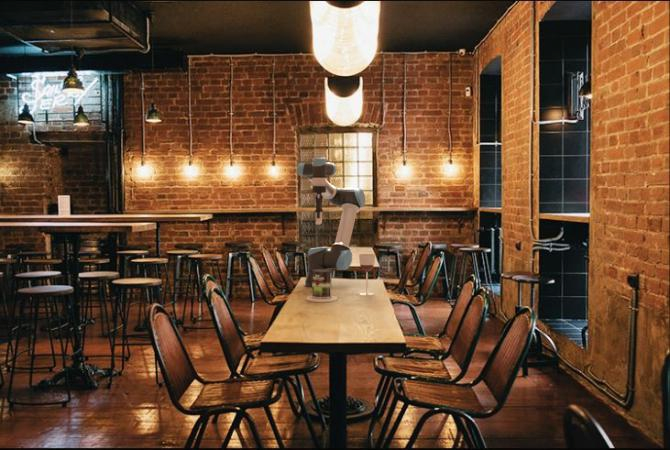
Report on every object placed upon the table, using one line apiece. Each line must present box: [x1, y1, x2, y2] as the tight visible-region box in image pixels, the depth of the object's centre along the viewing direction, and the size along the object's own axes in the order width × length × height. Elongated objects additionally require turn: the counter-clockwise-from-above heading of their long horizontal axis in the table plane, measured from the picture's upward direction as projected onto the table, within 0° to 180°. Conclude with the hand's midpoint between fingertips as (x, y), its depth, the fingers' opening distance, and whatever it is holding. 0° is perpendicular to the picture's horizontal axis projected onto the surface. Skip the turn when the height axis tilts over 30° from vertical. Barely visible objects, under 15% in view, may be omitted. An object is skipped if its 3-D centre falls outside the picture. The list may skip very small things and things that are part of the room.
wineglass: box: [358, 253, 376, 296], centre depth 332 cm, size 9×10×22 cm
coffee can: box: [311, 269, 333, 299], centre depth 313 cm, size 10×10×14 cm
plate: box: [306, 295, 338, 303], centre depth 313 cm, size 16×16×1 cm
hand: (318, 223), depth 333 cm, fingers open, 13 cm apart
